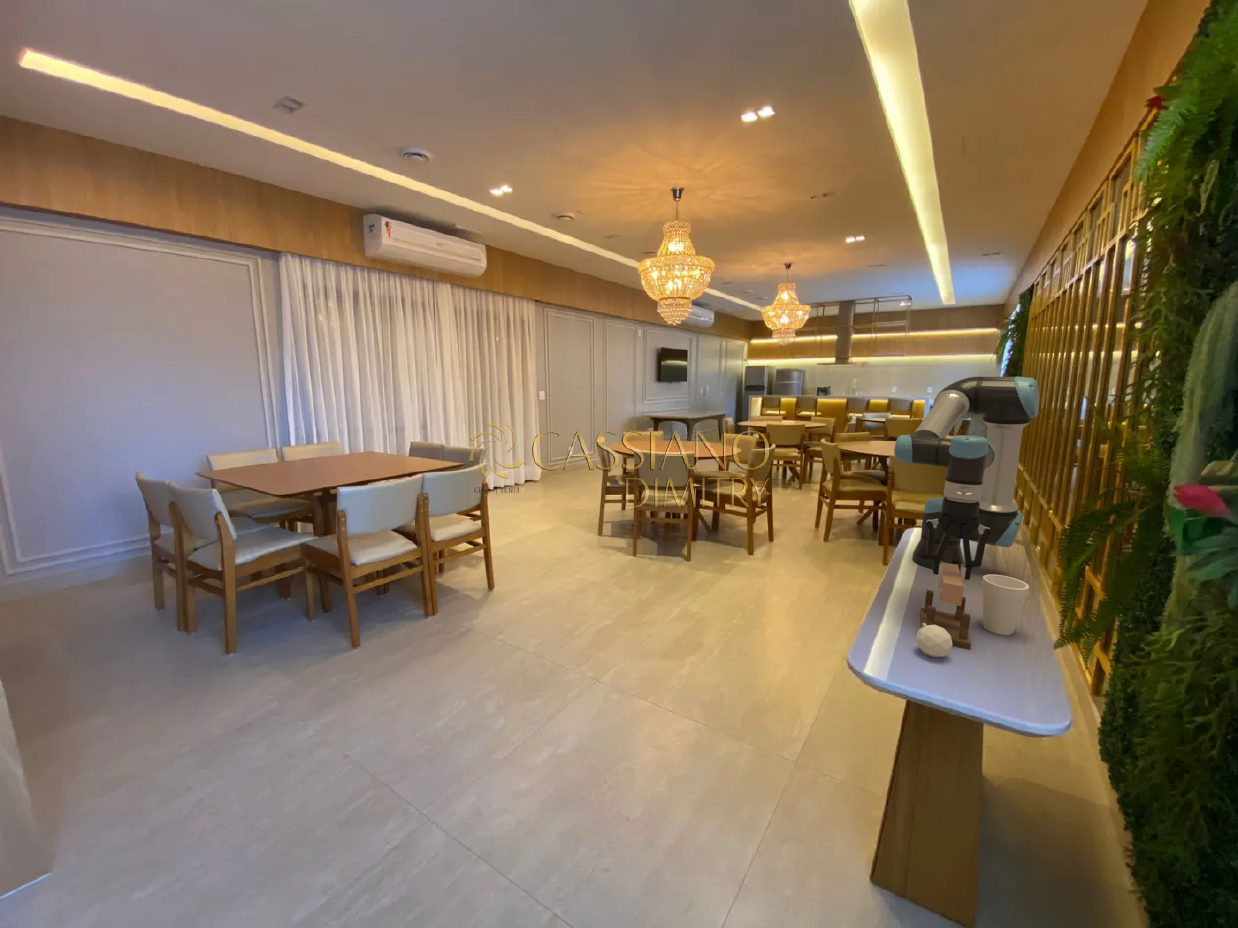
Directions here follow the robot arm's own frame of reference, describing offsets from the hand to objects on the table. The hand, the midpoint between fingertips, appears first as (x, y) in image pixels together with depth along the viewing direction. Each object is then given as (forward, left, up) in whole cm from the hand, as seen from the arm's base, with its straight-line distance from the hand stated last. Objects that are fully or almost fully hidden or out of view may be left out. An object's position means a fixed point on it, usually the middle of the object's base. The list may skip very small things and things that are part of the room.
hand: (949, 588), depth 126 cm
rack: (0, 0, -11) cm, 11 cm away
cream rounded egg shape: (+15, -3, -12) cm, 19 cm away
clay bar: (0, 0, -1) cm, 1 cm away
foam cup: (-8, +12, -12) cm, 19 cm away
